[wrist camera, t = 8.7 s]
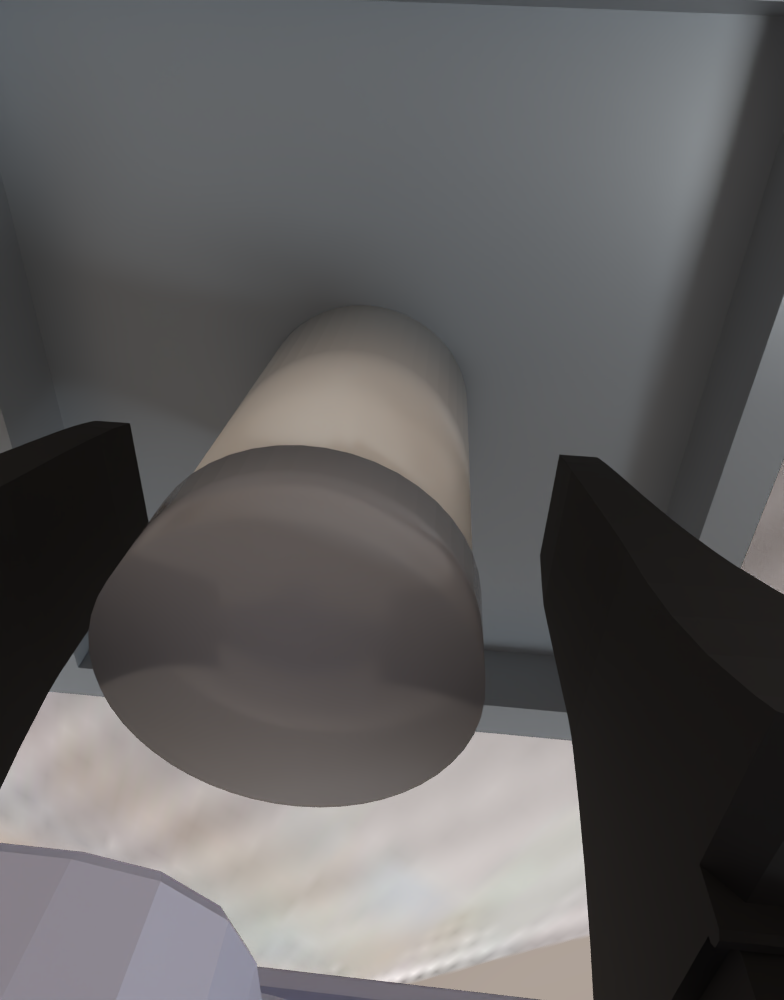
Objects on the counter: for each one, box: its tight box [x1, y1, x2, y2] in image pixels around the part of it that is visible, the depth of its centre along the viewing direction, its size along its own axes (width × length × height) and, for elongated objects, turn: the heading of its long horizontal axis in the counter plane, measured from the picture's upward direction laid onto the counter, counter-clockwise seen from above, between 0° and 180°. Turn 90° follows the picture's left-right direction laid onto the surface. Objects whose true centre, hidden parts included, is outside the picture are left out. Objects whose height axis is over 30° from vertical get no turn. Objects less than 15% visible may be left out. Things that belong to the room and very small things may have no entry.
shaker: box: [88, 305, 486, 807], centre depth 11 cm, size 5×5×8 cm
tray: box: [0, 0, 784, 741], centre depth 14 cm, size 16×16×2 cm
